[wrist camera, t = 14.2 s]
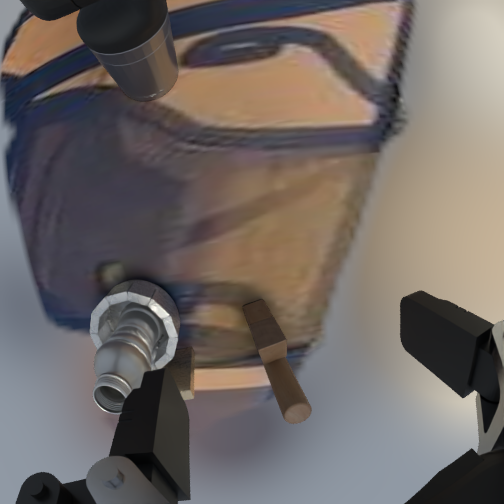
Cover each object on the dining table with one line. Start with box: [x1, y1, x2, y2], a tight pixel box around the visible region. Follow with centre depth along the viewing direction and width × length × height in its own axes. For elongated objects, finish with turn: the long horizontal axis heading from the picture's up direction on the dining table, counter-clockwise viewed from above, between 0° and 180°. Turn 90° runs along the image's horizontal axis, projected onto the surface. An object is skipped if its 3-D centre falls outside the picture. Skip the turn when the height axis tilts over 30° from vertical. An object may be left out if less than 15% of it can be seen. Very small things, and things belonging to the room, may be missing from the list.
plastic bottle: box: [93, 302, 163, 414], centre depth 32 cm, size 6×7×20 cm
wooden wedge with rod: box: [243, 299, 312, 424], centre depth 39 cm, size 4×11×18 cm, turn 18°
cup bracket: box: [90, 280, 195, 400], centre depth 39 cm, size 16×12×12 cm
